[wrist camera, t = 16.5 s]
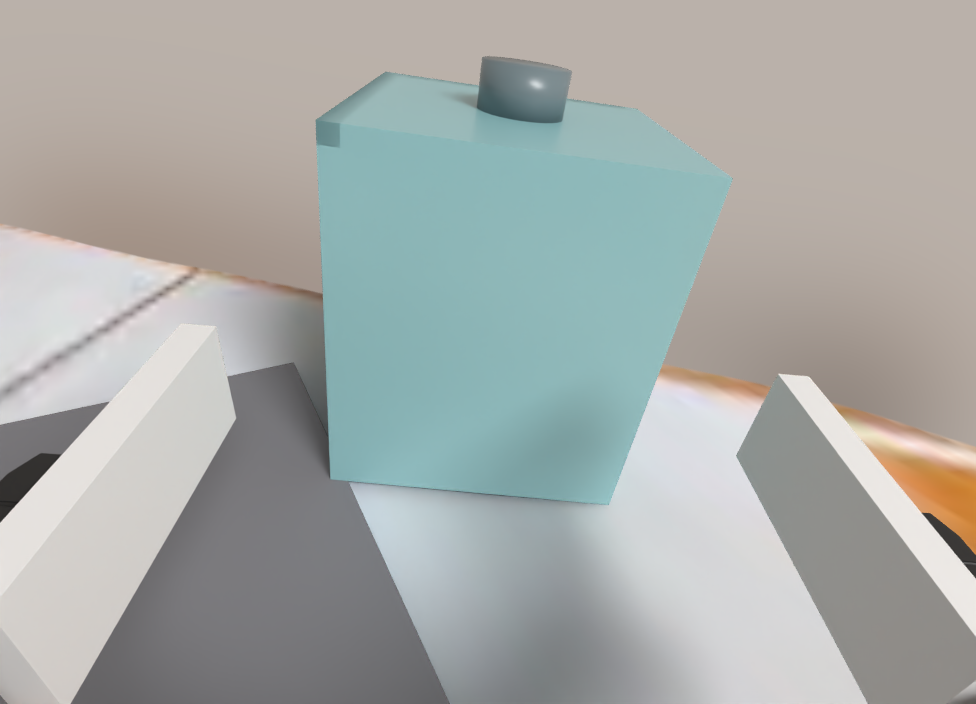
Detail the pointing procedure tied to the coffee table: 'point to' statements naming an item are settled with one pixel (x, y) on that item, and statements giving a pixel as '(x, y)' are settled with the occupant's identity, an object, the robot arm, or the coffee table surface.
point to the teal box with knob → (500, 279)
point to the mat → (255, 574)
